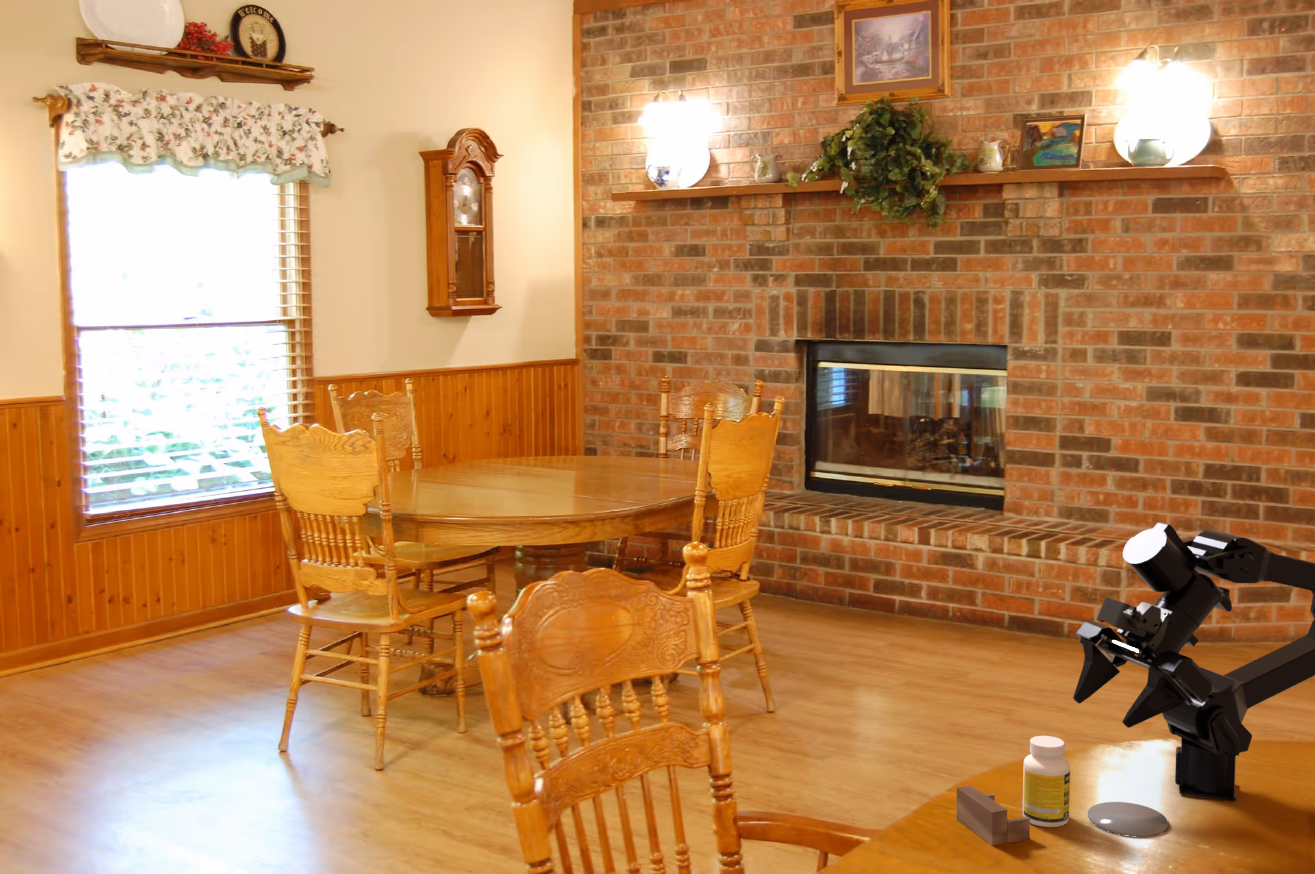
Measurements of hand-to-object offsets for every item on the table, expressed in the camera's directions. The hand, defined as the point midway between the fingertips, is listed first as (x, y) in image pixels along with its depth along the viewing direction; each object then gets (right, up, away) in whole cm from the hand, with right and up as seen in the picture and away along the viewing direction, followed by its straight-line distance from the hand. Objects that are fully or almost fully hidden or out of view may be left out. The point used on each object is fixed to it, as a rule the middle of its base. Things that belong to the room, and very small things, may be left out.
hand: (1099, 712), depth 151 cm
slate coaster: (+3, -13, -2) cm, 13 cm away
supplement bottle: (-7, -13, -1) cm, 15 cm away
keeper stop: (-14, -13, -3) cm, 19 cm away
